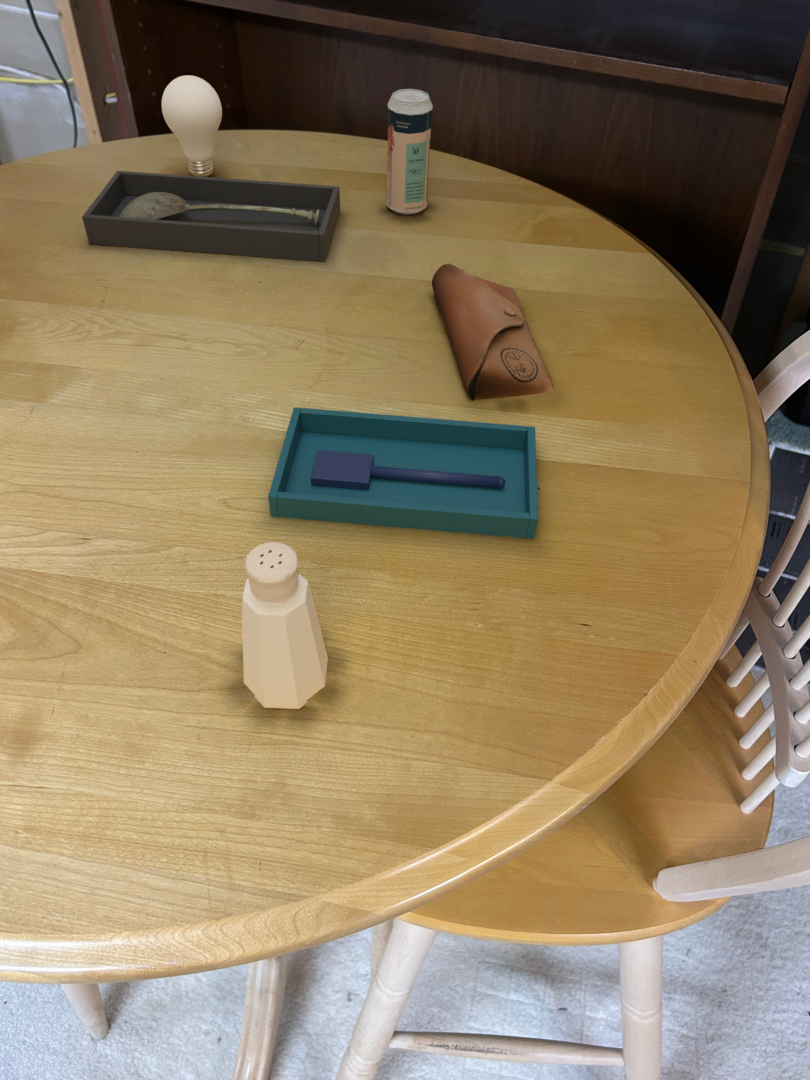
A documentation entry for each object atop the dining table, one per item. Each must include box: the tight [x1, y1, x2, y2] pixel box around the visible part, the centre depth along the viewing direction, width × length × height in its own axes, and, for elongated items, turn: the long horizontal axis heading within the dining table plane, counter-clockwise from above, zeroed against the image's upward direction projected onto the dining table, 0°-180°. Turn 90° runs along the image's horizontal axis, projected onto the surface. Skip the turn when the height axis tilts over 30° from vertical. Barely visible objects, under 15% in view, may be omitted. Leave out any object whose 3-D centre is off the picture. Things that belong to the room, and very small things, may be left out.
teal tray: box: [267, 406, 539, 540], centre depth 61 cm, size 19×10×2 cm, turn 85°
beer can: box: [385, 88, 434, 216], centre depth 89 cm, size 5×5×12 cm
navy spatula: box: [311, 450, 505, 490], centre depth 61 cm, size 15×3×1 cm, turn 85°
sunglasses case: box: [431, 263, 555, 402], centre depth 74 cm, size 18×7×7 cm
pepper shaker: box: [241, 541, 329, 710], centre depth 46 cm, size 5×5×11 cm
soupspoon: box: [119, 192, 320, 226], centre depth 87 cm, size 22×3×7 cm
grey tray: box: [81, 170, 341, 262], centre depth 87 cm, size 25×11×3 cm, turn 85°
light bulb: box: [161, 75, 223, 177], centre depth 92 cm, size 7×7×11 cm
